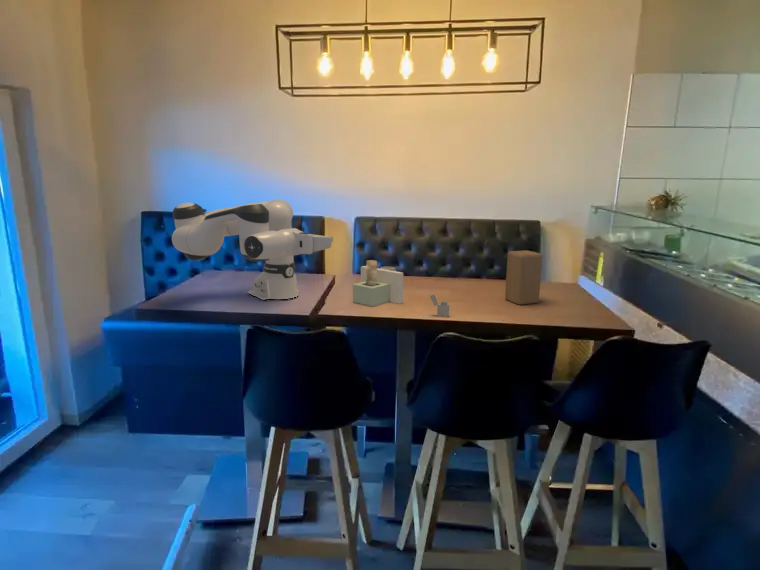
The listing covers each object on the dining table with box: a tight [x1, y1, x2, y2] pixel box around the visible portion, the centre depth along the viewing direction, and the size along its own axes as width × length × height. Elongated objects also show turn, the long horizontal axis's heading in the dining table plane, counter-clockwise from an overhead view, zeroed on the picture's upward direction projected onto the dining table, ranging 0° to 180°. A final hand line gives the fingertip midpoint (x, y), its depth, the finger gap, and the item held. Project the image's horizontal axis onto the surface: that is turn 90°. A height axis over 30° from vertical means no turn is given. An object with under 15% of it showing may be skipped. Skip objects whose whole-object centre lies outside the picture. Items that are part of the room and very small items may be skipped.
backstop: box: [360, 265, 404, 304], centre depth 195 cm, size 20×21×13 cm
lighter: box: [429, 293, 450, 317], centre depth 185 cm, size 7×2×8 cm, turn 81°
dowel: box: [365, 259, 378, 286], centre depth 197 cm, size 4×4×15 cm
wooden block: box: [504, 249, 543, 306], centre depth 204 cm, size 10×10×20 cm
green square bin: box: [352, 281, 389, 308], centre depth 198 cm, size 10×10×7 cm
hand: (321, 237), depth 179 cm, fingers open, 8 cm apart
